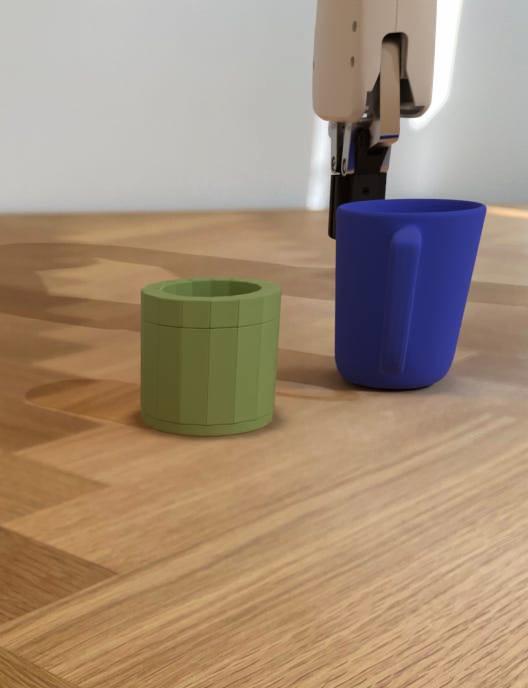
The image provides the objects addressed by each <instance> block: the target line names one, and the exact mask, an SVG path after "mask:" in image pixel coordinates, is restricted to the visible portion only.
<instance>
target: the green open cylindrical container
mask: <svg viewBox="0 0 528 688" xmlns="http://www.w3.org/2000/svg"><path fill="white" fill-rule="evenodd" d="M282 288H283V287H282V286H281V285H279V284H278V283H276V282H274V281H268V280H264V279H259V278H249V277H238V276H237V277H236V276H202V277H201V276H200V277H185V278H184V277H183V278H175V279H168V280H167V279H166V280H161V281H157V282H153V283H149V284H147V285H145V286H144V287H142V288H141V289H140V385H139V386H140V392H139V393H140V394H139V395H140V398H139V399H140V402H139V403H140V404H139V405H140V409H141V410H140V411H141V413H140V414H141V416H140V417H141V421H142V422H143V423H144V424H145V425H146V426H148V427H149V428H152V429H155V430H157V431H160V432H164V433H168V434H175V435H182V436H193V437H194V436H195V437H217V436H218V437H221V436H233V435H239V434H240V435H241V434H245V433H249V432H253V431H257V430H260V429H262V428H264V427H266V426H268V425H269V424H271V422H272V421H273V416H274V408H275V404H276V389H277V374H278V373H277V372H278V359H279V358H278V355H279V341H280V326H281V325H280V324H281V308H282V307H281V306H282V290H283V289H282Z"/></svg>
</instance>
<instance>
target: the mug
mask: <svg viewBox="0 0 528 688" xmlns="http://www.w3.org/2000/svg"><path fill="white" fill-rule="evenodd" d="M487 209H488V208H487V205H485V204H484V203H482V202H478V201H472V200H465V199H449V198H387V199H386V198H385V199H384V200H369V201H359V202H352V203H346V204H343V205H340V206H339V207H338V208H337V210H336V240H335V266H334V267H335V270H334V272H335V273H334V277H335V278H334V279H335V280H334V363H335V366H336V369H337V372H338V373H339V375H340V376H341V377H342V378H343V379H345V380H346V381H348V382H350V383H353V384H355V385H359V386H362V387H368V388H376V389H383V390H384V389H385V390H408V389H417V388H423V387H428V386H431V385H434V384H436V383H438V382H440V381H442V380H443V379H444V378H445V377H446V376H447V374H448V373H449V371H450V369H451V367H452V364H453V362H454V359H455V354H456V350H457V346H458V341H459V336H460V333H461V327H462V323H463V319H464V314H465V310H466V305H467V302H468V301H467V300H468V296H469V292H470V286H471V283H472V279H473V278H472V277H473V273H474V271H475V270H474V269H475V266H476V260H477V256H478V251H479V246H480V242H481V239H482V233H483V228H484V224H485V219H486V215H487V211H488V210H487Z"/></svg>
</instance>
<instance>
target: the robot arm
mask: <svg viewBox="0 0 528 688" xmlns="http://www.w3.org/2000/svg"><path fill="white" fill-rule="evenodd" d="M437 10H438V0H316V13H315V23H314V24H315V25H314V39H313V54H312V55H313V56H312V77H311V79H312V81H311V82H312V85H311V90H312V91H311V92H312V93H311V95H312V96H311V98H312V109H313V112H314V114H315V115H316V116H317V117H318V118H320V119H321V120H322V121H326V122H328V127H327V133H328V136H329V138H330V171H331V174H330V187H329V201H328V202H329V204H328V205H329V207H328V223H327V224H328V225H327V236H328V237H329V238H330V239H332V240H334V241H336V210H337V208H338V207H339V206H340V205H343V204H346V203H352V202H359V201H369V200H384V199H386V191H387V179H388V172H389V169H390V161H391V154H392V153H391V152H392V145H394V144H395V143H397V142H398V141H399V140H400V134H401V119H416V118H417V119H419V118H420V117H422V116H423V115H425V114H426V113H427V111H428V110H429V109H430V107H431V105H432V101H433V92H434V91H433V90H434V75H435V58H436V57H435V55H436V37H437V35H436V34H437V14H438V12H437ZM364 115H366V116H364Z"/></svg>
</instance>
